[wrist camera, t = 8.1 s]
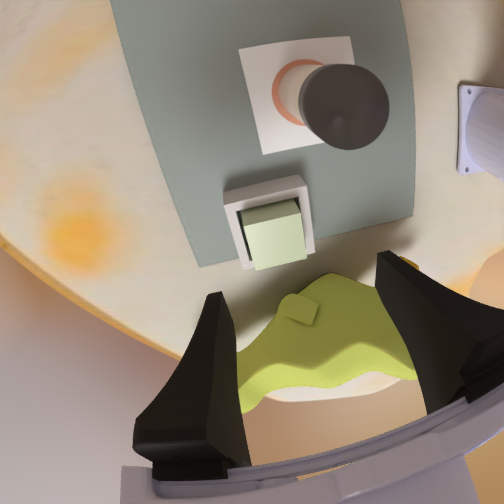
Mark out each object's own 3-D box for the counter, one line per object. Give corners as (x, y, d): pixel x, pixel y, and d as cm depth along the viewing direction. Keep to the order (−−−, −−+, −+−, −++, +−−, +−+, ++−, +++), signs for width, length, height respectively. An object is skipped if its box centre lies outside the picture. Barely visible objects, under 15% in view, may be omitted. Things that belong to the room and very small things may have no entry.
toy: (328, 211, 29) (174, 344, 28) (473, 285, 15) (237, 497, 14) (349, 252, 32) (212, 371, 31) (470, 330, 19) (281, 499, 17)
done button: (291, 195, 19) (300, 212, 17) (298, 237, 21) (306, 258, 19) (240, 207, 19) (243, 226, 17) (251, 248, 21) (255, 270, 19)
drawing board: (377, -62, 9) (394, -72, 7) (409, 213, 23) (425, 228, 21) (106, -27, 10) (92, -36, 8) (199, 263, 24) (198, 284, 22)
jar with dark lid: (331, 60, 15) (385, 63, 10) (339, 116, 17) (391, 144, 12) (271, 67, 15) (299, 68, 10) (282, 125, 17) (313, 156, 12)
